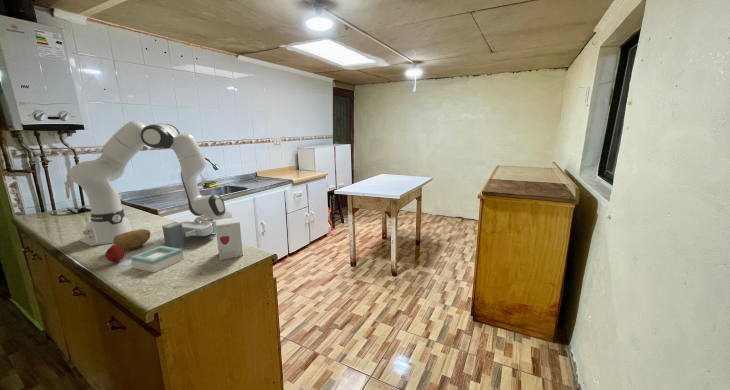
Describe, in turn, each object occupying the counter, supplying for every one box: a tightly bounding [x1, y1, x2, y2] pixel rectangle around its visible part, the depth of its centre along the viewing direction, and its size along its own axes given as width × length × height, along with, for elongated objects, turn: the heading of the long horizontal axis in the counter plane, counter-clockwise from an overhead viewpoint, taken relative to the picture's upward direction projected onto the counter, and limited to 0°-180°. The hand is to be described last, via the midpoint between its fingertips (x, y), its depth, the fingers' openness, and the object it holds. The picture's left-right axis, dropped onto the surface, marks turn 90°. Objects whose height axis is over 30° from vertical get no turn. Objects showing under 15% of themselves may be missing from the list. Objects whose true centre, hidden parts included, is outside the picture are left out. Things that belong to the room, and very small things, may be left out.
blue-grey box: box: [161, 221, 186, 249], centre depth 130 cm, size 4×6×11 cm
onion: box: [105, 243, 126, 264], centre depth 115 cm, size 6×6×8 cm
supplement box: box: [215, 216, 244, 261], centre depth 121 cm, size 9×9×15 cm
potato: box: [113, 228, 151, 250], centre depth 131 cm, size 10×14×8 cm
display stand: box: [131, 245, 185, 273], centre depth 115 cm, size 12×12×4 cm
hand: (177, 233), depth 131 cm, fingers open, 8 cm apart
